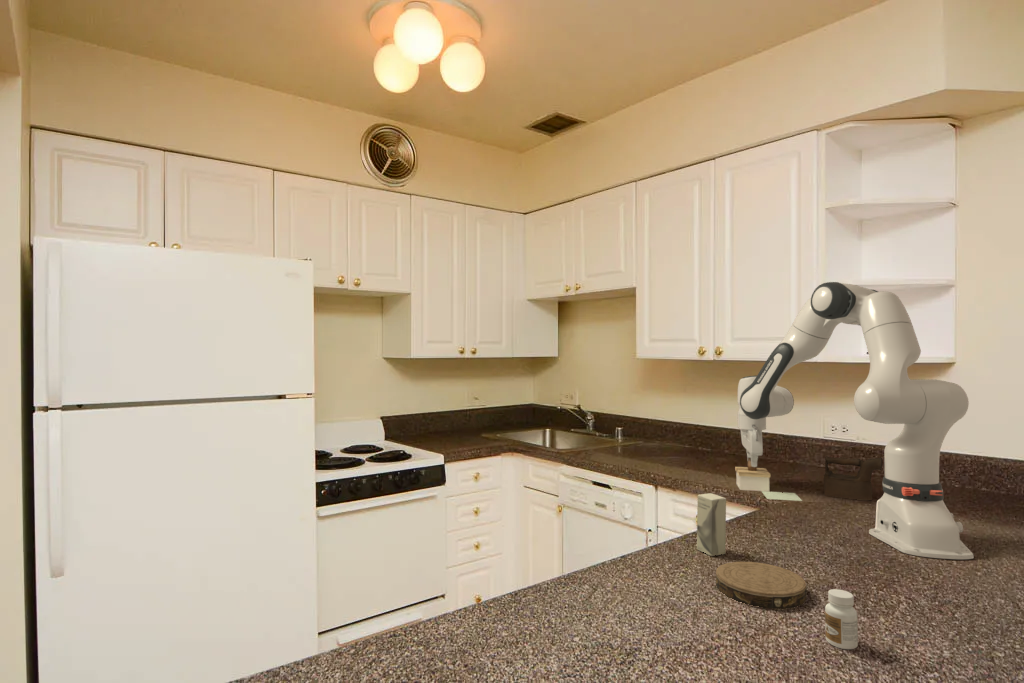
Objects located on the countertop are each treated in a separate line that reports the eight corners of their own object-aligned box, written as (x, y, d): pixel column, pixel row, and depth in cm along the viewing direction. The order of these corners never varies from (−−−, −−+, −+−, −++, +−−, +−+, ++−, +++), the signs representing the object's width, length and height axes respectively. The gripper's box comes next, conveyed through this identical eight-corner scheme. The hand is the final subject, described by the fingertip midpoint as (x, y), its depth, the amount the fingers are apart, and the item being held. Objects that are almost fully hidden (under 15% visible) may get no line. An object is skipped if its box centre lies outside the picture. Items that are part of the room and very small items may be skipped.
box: (696, 549, 131) (695, 494, 132) (710, 547, 133) (710, 492, 133) (712, 557, 126) (711, 499, 127) (727, 554, 128) (727, 497, 128)
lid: (770, 477, 185) (770, 464, 185) (739, 475, 187) (738, 463, 188) (765, 471, 194) (764, 459, 194) (735, 470, 197) (735, 458, 197)
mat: (802, 502, 173) (802, 500, 173) (767, 500, 176) (767, 498, 176) (794, 494, 183) (794, 493, 183) (761, 492, 185) (761, 491, 185)
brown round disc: (702, 577, 116) (702, 562, 116) (777, 575, 117) (776, 560, 117) (739, 612, 100) (739, 595, 100) (825, 609, 101) (825, 592, 101)
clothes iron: (880, 504, 171) (880, 459, 171) (821, 496, 181) (821, 454, 181) (884, 499, 177) (883, 456, 177) (826, 491, 187) (826, 450, 187)
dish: (769, 492, 185) (769, 477, 185) (740, 490, 188) (739, 475, 188) (764, 486, 194) (764, 471, 194) (736, 484, 196) (736, 470, 196)
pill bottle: (819, 636, 91) (818, 587, 91) (845, 635, 91) (845, 587, 91) (836, 650, 87) (835, 599, 87) (864, 649, 87) (863, 599, 87)
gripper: (767, 427, 180) (768, 471, 180) (756, 420, 200) (757, 459, 200) (746, 427, 182) (746, 470, 182) (737, 419, 202) (738, 458, 201)
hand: (752, 464), depth 191 cm, fingers open, 5 cm apart
